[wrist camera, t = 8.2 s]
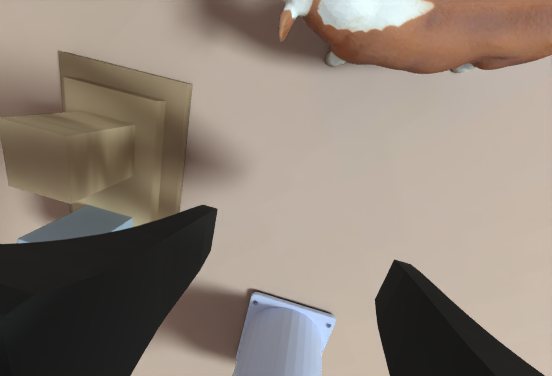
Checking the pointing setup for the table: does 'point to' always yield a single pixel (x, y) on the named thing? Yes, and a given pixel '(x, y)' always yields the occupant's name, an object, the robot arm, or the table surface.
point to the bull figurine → (427, 32)
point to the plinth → (148, 132)
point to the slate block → (80, 225)
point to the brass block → (67, 153)
